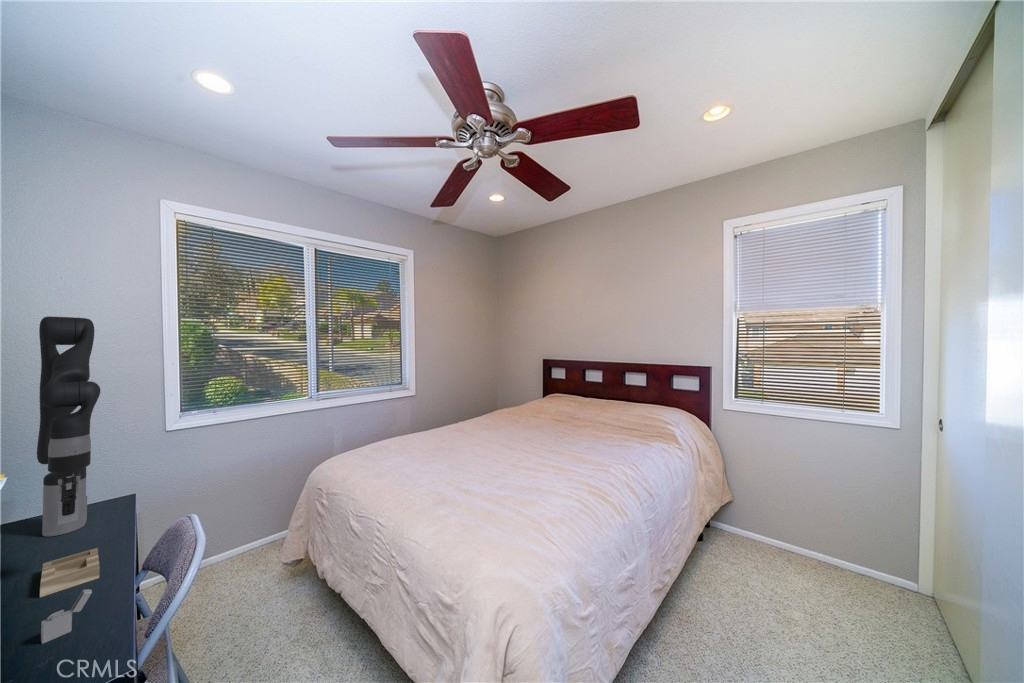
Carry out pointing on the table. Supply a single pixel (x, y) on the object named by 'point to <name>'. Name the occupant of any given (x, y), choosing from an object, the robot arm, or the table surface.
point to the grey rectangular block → (69, 517)
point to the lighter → (62, 619)
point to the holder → (69, 571)
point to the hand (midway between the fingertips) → (68, 512)
